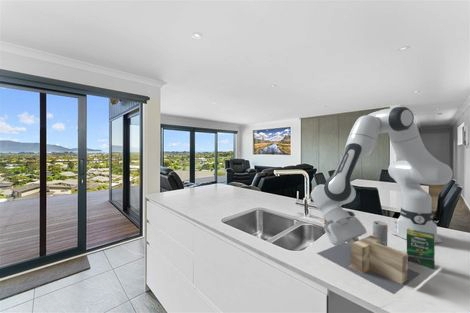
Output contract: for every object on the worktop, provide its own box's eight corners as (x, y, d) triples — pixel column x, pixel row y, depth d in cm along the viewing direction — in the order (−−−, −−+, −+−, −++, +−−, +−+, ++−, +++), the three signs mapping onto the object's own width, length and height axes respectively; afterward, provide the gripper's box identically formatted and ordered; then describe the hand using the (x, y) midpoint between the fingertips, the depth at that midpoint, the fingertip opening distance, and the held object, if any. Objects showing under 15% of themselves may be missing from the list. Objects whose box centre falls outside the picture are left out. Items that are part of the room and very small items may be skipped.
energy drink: (373, 245, 93) (373, 220, 93) (387, 248, 90) (387, 222, 90) (371, 249, 89) (372, 223, 89) (386, 253, 86) (387, 226, 85)
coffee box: (405, 261, 80) (406, 229, 79) (407, 259, 82) (407, 227, 81) (433, 271, 73) (434, 236, 73) (434, 268, 75) (435, 234, 75)
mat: (344, 243, 95) (344, 242, 95) (420, 275, 71) (420, 273, 71) (316, 254, 86) (316, 253, 86) (393, 295, 61) (393, 294, 61)
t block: (370, 256, 82) (370, 235, 82) (413, 275, 70) (414, 250, 70) (350, 266, 75) (350, 243, 75) (394, 289, 63) (395, 261, 63)
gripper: (326, 219, 80) (350, 254, 72) (355, 211, 90) (379, 241, 82) (316, 226, 84) (338, 260, 76) (345, 218, 95) (367, 247, 86)
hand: (359, 250), depth 79 cm, fingers closed, pressing on t block
